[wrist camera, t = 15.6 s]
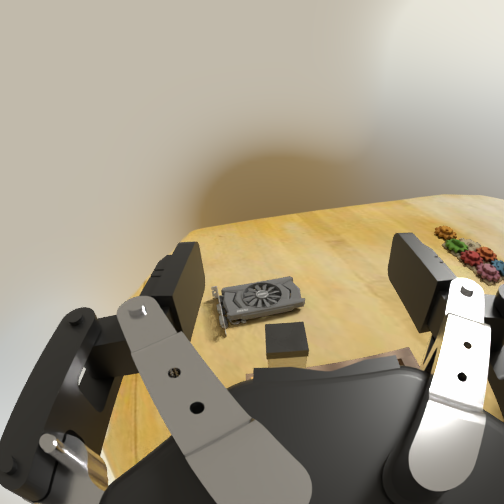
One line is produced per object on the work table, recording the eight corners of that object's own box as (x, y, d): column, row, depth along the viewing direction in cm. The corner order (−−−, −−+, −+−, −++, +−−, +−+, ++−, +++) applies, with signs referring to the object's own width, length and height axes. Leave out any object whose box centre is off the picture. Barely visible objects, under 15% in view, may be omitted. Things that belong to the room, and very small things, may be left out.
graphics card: (218, 326, 46) (210, 284, 57) (220, 341, 48) (213, 299, 59) (313, 307, 49) (291, 270, 59) (311, 322, 51) (291, 285, 61)
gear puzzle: (422, 233, 78) (424, 221, 76) (455, 229, 79) (457, 218, 77) (487, 288, 50) (493, 274, 49) (516, 277, 52) (521, 264, 50)
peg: (298, 390, 37) (303, 321, 30) (301, 414, 34) (308, 350, 27) (269, 392, 37) (265, 324, 31) (270, 416, 34) (266, 353, 27)
